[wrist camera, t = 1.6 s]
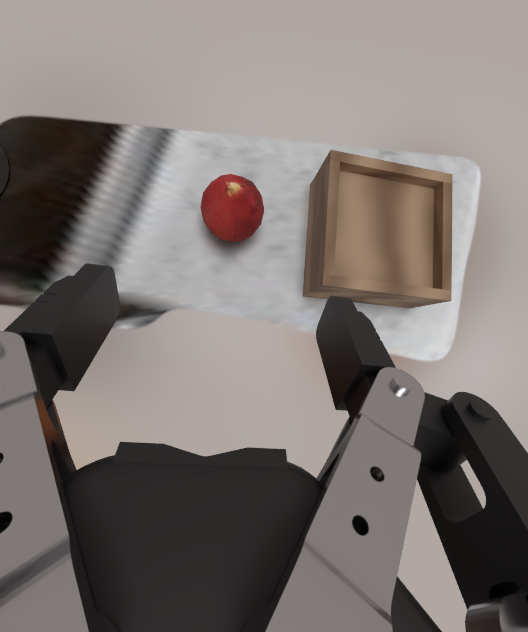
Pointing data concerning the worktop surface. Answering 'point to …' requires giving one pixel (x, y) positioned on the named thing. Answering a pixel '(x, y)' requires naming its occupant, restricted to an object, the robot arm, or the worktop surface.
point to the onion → (232, 208)
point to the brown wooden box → (379, 233)
